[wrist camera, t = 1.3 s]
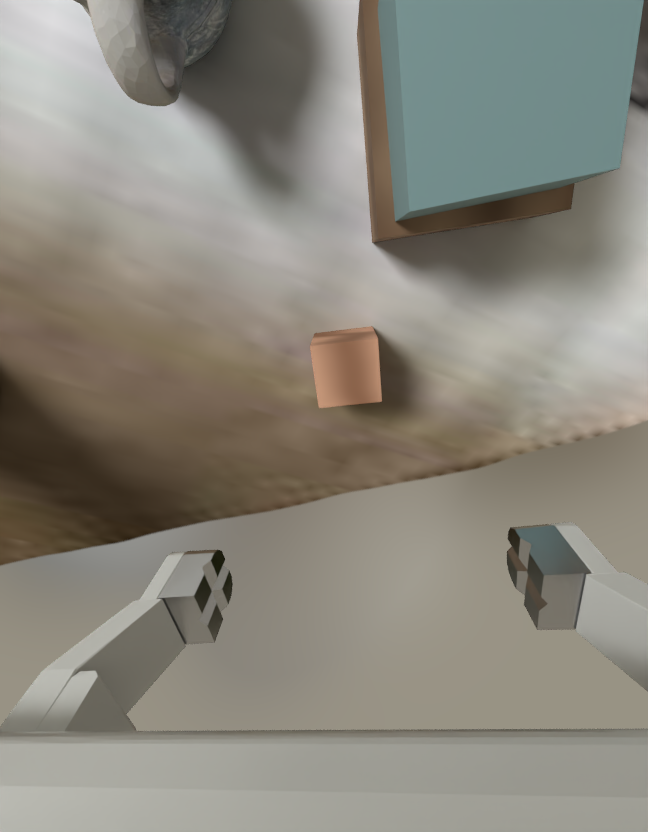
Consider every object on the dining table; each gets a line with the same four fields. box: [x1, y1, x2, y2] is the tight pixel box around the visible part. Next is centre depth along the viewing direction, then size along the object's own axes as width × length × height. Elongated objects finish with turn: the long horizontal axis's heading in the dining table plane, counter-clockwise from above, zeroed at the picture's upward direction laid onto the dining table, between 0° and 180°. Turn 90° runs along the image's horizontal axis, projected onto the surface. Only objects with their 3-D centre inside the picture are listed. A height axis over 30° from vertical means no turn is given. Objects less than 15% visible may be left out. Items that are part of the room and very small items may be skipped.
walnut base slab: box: [357, 0, 574, 243], centre depth 22 cm, size 12×12×5 cm
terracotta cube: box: [310, 326, 382, 408], centre depth 28 cm, size 5×5×5 cm
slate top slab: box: [378, 0, 644, 222], centre depth 17 cm, size 10×10×5 cm
